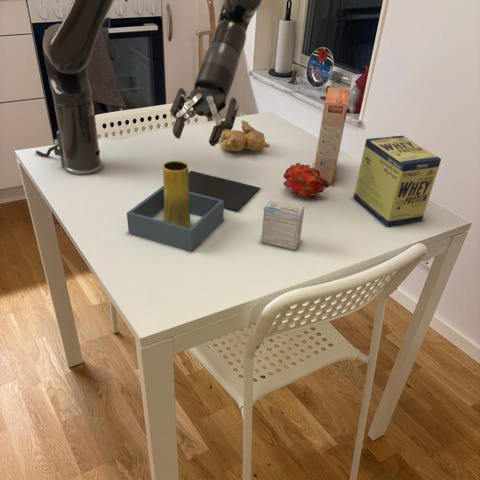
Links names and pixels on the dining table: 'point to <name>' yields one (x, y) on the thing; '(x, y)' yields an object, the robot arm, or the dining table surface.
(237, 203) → the mat
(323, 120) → the cracker box
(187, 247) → the tub
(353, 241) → the dining table surface
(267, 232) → the medicine box
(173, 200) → the vase
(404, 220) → the protein box
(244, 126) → the ginger root
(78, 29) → the robot arm
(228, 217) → the dining table surface
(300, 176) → the dragon fruit
